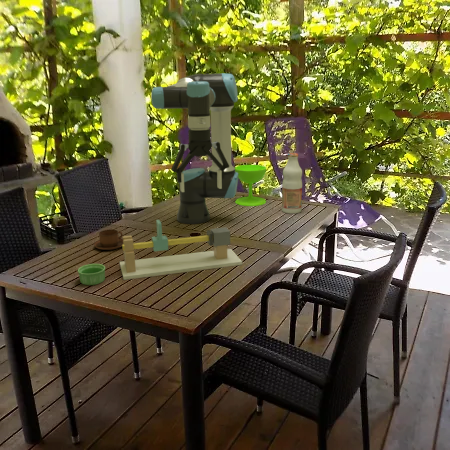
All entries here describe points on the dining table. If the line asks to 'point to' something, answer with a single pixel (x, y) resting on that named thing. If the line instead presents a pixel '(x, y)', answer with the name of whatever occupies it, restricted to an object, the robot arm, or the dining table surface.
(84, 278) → the ramekin
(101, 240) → the cup and saucer
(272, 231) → the dining table surface
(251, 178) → the wineglass
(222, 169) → the robot arm
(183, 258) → the cord rig
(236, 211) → the dining table surface
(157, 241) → the sleeve
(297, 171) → the fruit juice
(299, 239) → the dining table surface
